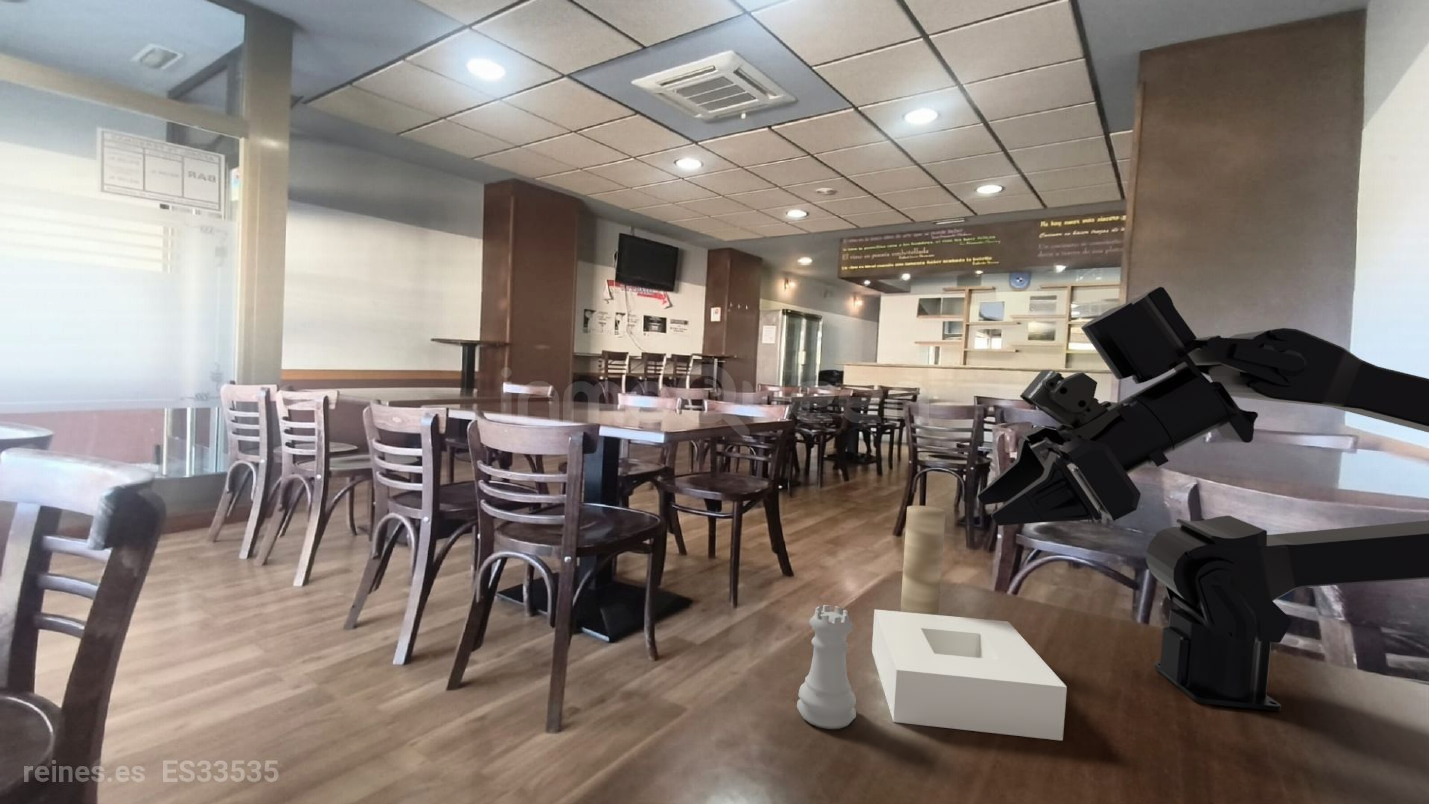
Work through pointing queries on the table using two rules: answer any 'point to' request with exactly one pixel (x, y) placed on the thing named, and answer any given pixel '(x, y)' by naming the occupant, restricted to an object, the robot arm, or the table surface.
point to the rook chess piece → (828, 673)
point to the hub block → (966, 675)
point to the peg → (922, 560)
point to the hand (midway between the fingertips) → (986, 509)
